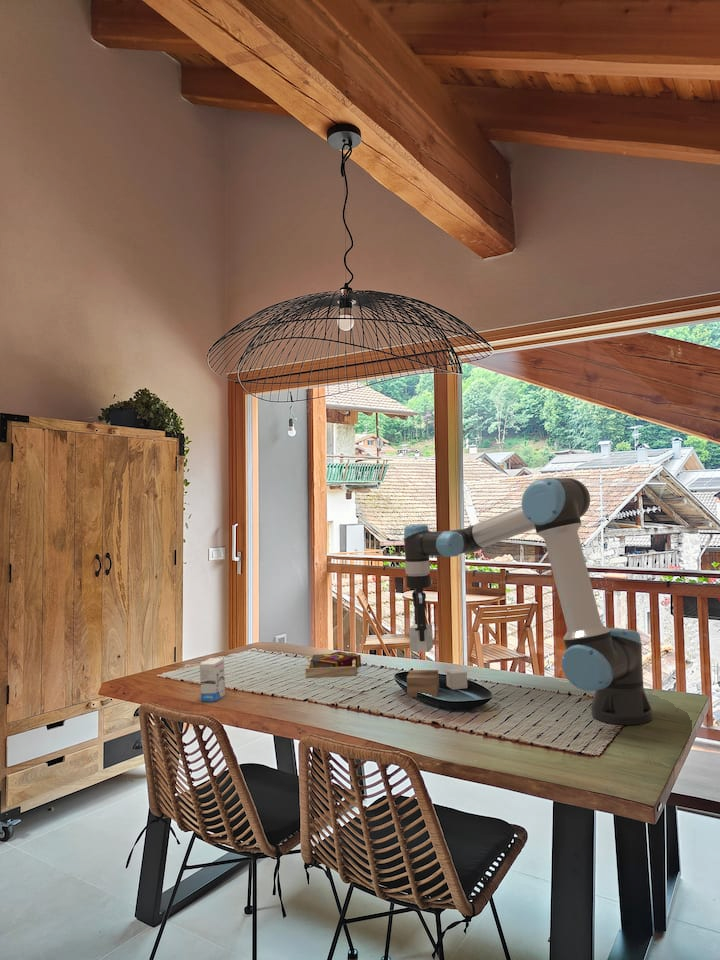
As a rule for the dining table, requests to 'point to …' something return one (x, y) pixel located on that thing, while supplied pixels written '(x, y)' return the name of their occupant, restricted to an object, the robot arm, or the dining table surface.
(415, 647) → the skincare box
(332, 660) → the decorative book
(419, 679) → the walnut block
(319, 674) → the book frame
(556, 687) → the dining table surface
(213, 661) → the ink box
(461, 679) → the grey cube
